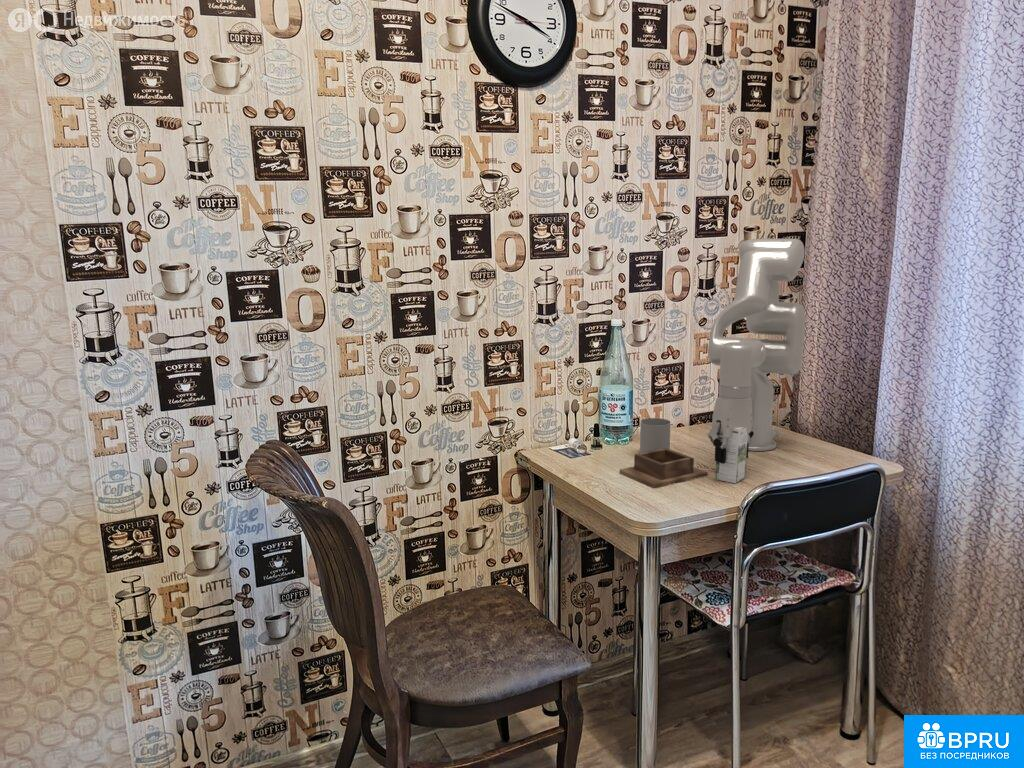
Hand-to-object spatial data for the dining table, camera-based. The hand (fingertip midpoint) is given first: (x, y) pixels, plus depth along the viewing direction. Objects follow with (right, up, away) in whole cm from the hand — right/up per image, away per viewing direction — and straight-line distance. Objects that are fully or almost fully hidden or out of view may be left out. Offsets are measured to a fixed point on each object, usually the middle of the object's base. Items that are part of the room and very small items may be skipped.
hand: (731, 459), depth 193 cm
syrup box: (0, -5, +1) cm, 6 cm away
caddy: (-16, -5, +5) cm, 18 cm away
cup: (-16, -1, +22) cm, 27 cm away
